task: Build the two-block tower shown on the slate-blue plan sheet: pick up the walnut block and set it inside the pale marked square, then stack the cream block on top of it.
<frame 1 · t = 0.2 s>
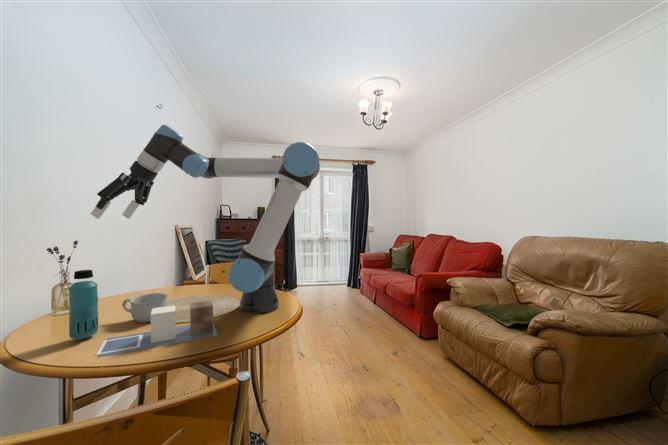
hand: (111, 216, 96), 35 cm above the table, tool tilted 35°, fingers open, 13 cm apart
plan sheet: (163, 338, 82), on the table
cream block: (163, 336, 82), resting on plan sheet
beverage bottle: (83, 340, 81), on the table
walnut block: (201, 330, 87), resting on plan sheet
teacup: (145, 320, 96), on the table
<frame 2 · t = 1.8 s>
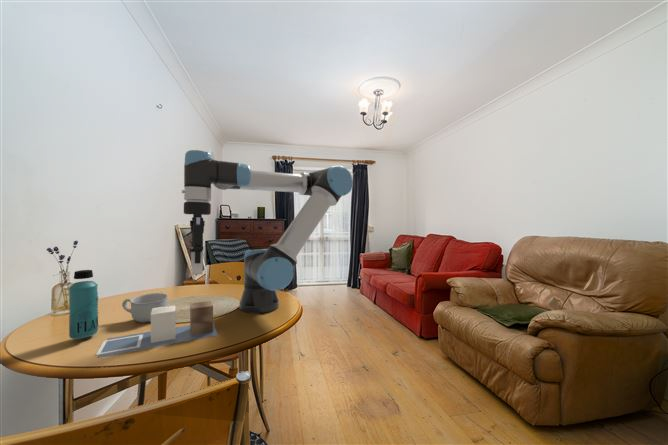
hand: (196, 270, 86), 19 cm above the table, tool pointing down, fingers open, 13 cm apart
nothing on the table moved.
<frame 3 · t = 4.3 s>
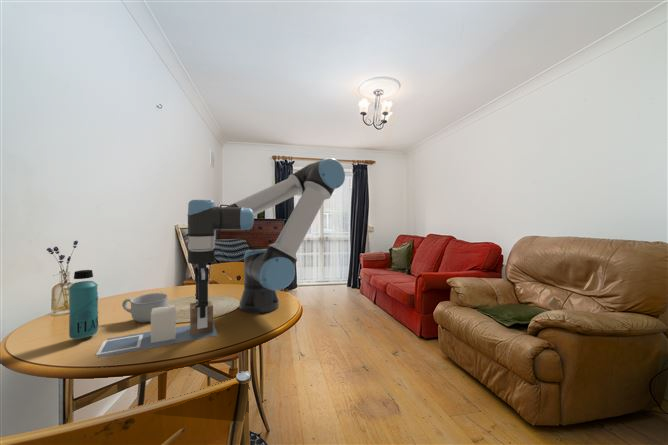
hand: (201, 323, 87), 2 cm above the table, tool pointing down, fingers closed on walnut block, 6 cm apart
walnut block: (201, 330, 87), resting on plan sheet, touching gripper
everything else where it was.
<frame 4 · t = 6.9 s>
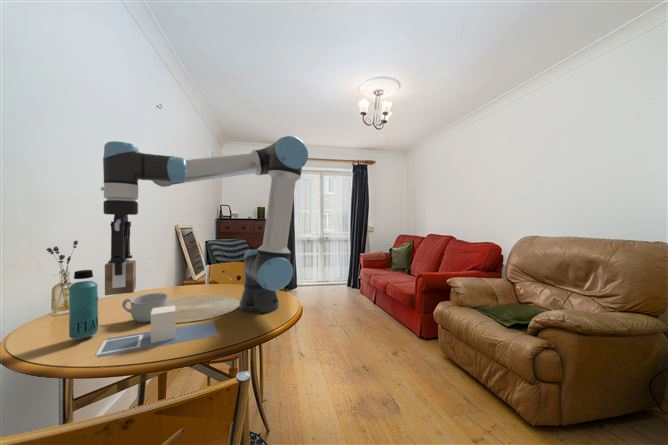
hand: (121, 284, 77), 17 cm above the table, tool pointing down, fingers closed on walnut block, 6 cm apart
walnut block: (121, 291, 77), point 15 cm above the table, touching gripper
everything else where it was.
when the fingers open (4 cm above the table, at t = 9.7 s): walnut block drops 1 cm, resting on plan sheet.
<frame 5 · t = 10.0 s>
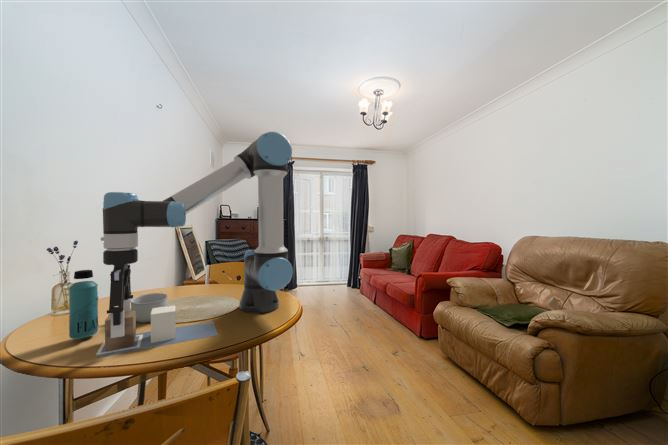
hand: (121, 329, 77), 5 cm above the table, tool pointing down, fingers open, 10 cm apart
walnut block: (121, 344, 77), resting on plan sheet
everything else where it was.
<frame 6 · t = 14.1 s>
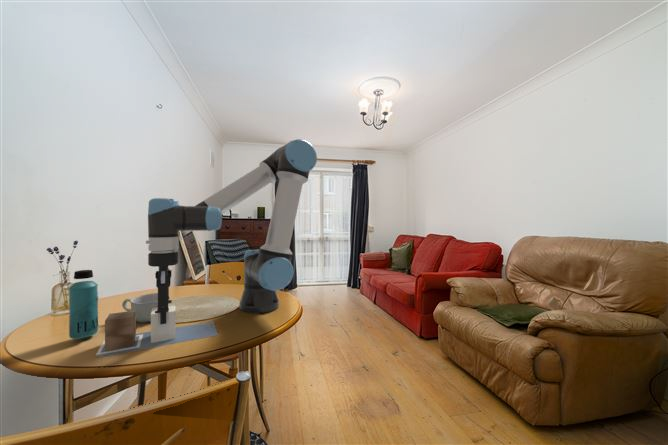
hand: (163, 330, 82), 2 cm above the table, tool pointing down, fingers closed on cream block, 6 cm apart
cream block: (163, 336, 82), resting on plan sheet, touching gripper
everything else where it was.
when the fingers open (12 cm above the table, at t = 19.1 s): cream block drops 1 cm, resting on walnut block.
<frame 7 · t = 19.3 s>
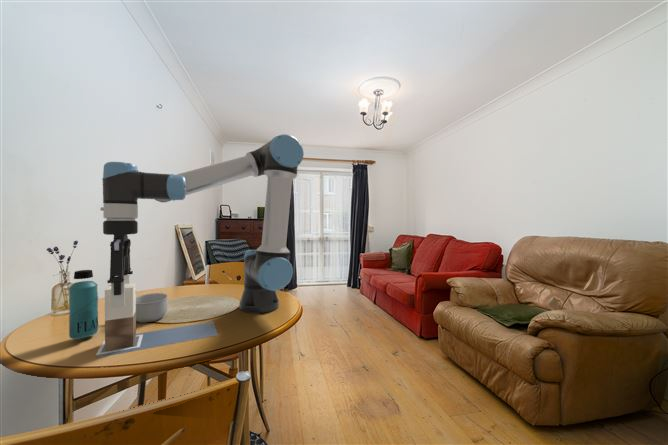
hand: (121, 302, 77), 12 cm above the table, tool pointing down, fingers open, 8 cm apart
cream block: (121, 315, 77), point 8 cm above the table, touching walnut block
walnut block: (121, 344, 77), resting on plan sheet, touching cream block
everything else where it was.
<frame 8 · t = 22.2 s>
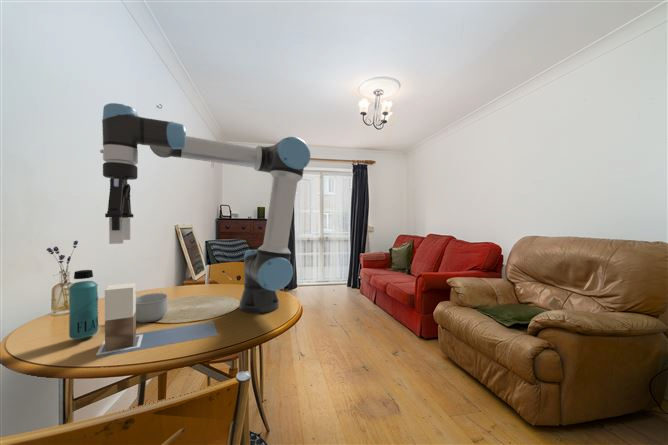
hand: (120, 241, 76), 29 cm above the table, tool pointing down, fingers open, 13 cm apart
nothing on the table moved.
at the end: walnut block 0.0 cm from the target spot on the plan sheet, point 0.4 cm above the plan sheet's base; cream block 0.0 cm off-centre on the walnut block, point 8.0 cm above the walnut block's base; cream block tilted 0° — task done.
